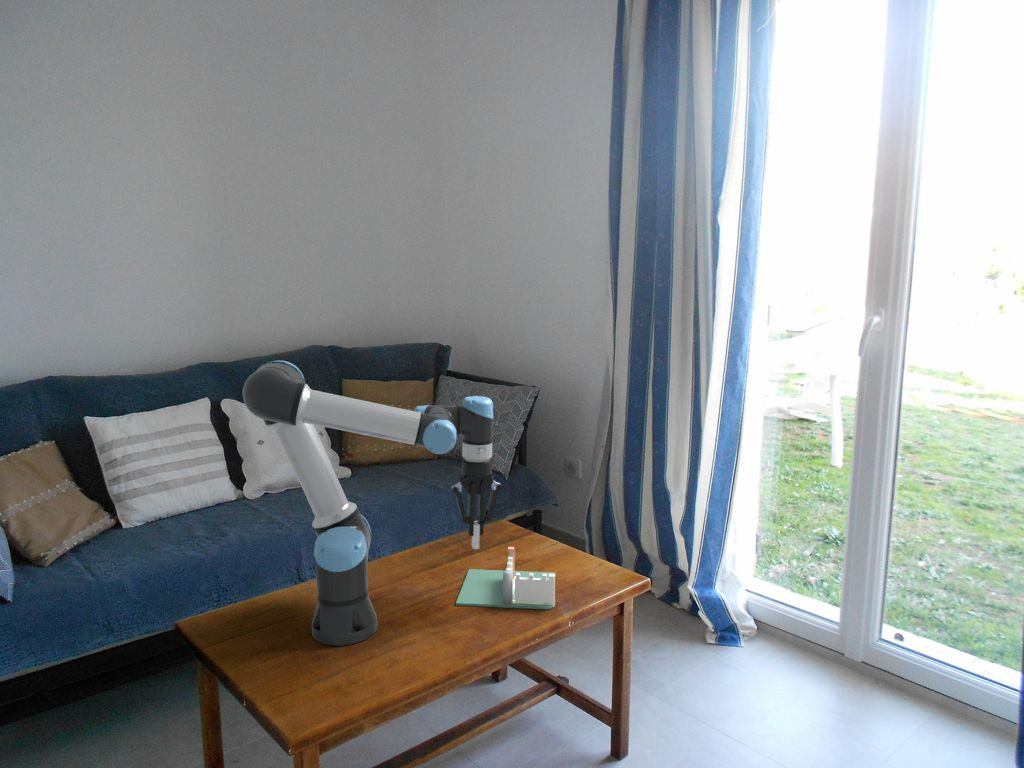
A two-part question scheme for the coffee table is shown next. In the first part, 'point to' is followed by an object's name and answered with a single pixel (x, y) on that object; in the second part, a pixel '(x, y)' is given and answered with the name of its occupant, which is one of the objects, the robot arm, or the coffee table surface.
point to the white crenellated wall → (511, 560)
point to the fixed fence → (529, 588)
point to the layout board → (494, 590)
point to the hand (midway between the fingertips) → (475, 547)
